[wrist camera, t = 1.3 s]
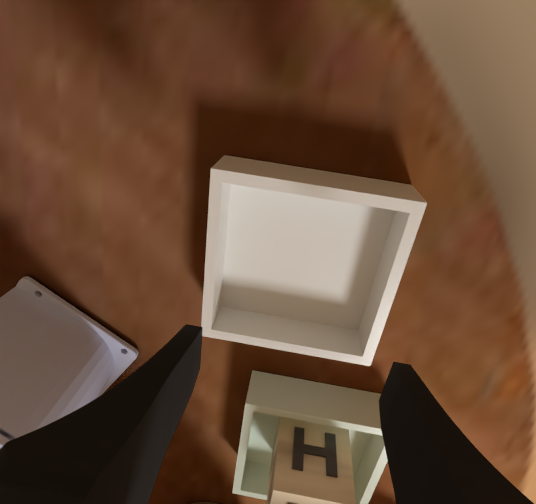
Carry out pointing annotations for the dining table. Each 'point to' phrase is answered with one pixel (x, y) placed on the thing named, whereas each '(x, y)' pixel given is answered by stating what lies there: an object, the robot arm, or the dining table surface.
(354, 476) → the sage tray
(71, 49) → the dining table surface
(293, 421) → the letter block
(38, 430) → the robot arm
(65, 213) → the dining table surface
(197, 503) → the plant pot
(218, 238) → the white tray
